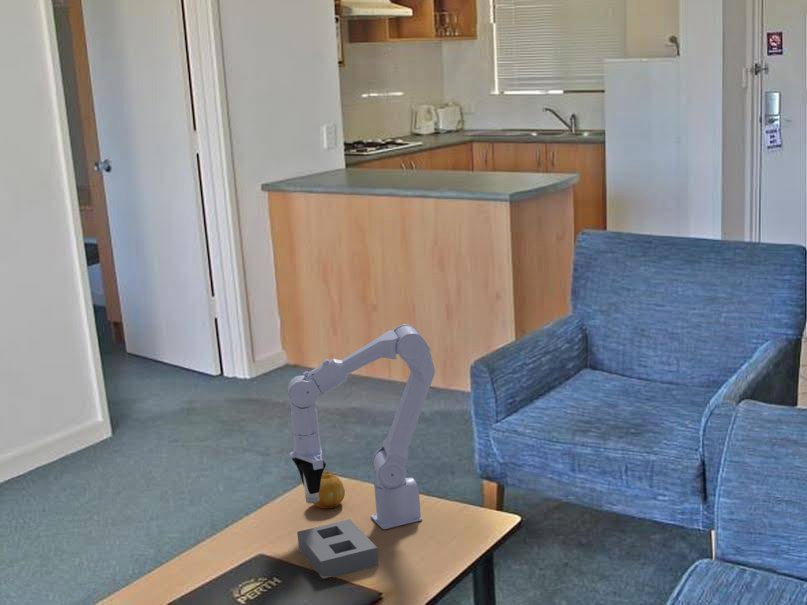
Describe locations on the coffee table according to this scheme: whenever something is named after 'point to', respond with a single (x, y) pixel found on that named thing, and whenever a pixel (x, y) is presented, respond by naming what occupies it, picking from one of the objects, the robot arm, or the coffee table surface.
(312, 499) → the pin
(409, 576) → the coffee table surface
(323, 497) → the fruit
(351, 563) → the hole board
